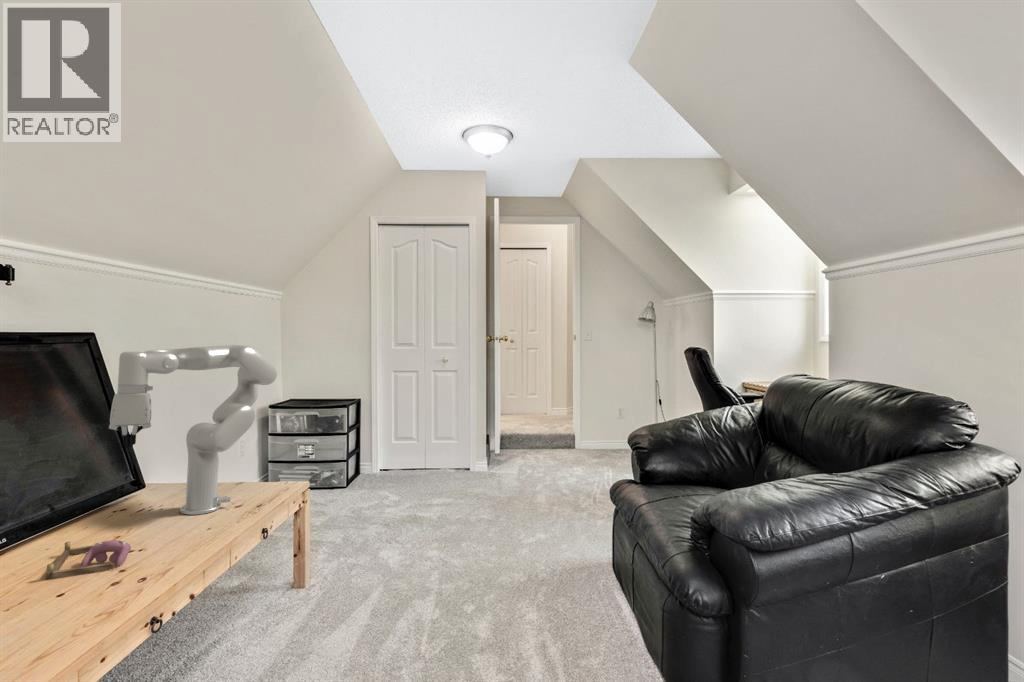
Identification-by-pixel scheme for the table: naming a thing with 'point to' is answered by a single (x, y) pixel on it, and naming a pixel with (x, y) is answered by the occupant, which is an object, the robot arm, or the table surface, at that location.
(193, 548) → the table surface
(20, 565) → the table surface
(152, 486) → the table surface
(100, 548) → the video game controller
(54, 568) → the frame
